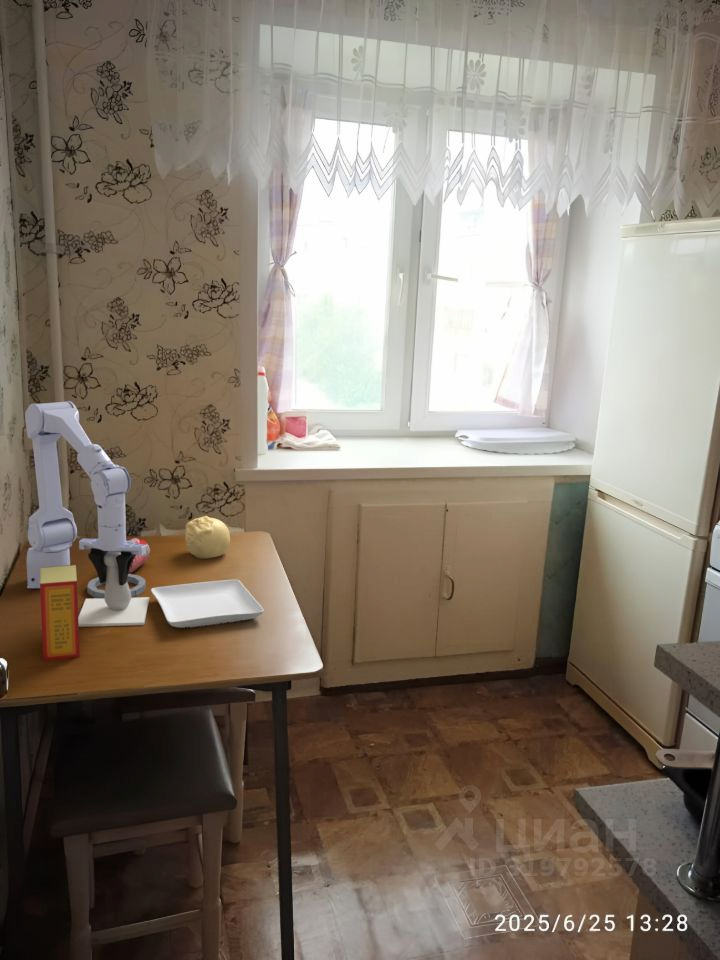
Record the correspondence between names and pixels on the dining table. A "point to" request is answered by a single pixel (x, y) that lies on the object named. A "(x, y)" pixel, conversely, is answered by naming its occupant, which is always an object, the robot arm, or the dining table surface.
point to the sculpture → (207, 537)
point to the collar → (131, 578)
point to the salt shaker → (115, 585)
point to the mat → (113, 613)
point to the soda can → (139, 559)
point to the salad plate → (206, 603)
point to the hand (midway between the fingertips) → (113, 582)
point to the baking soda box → (59, 612)
